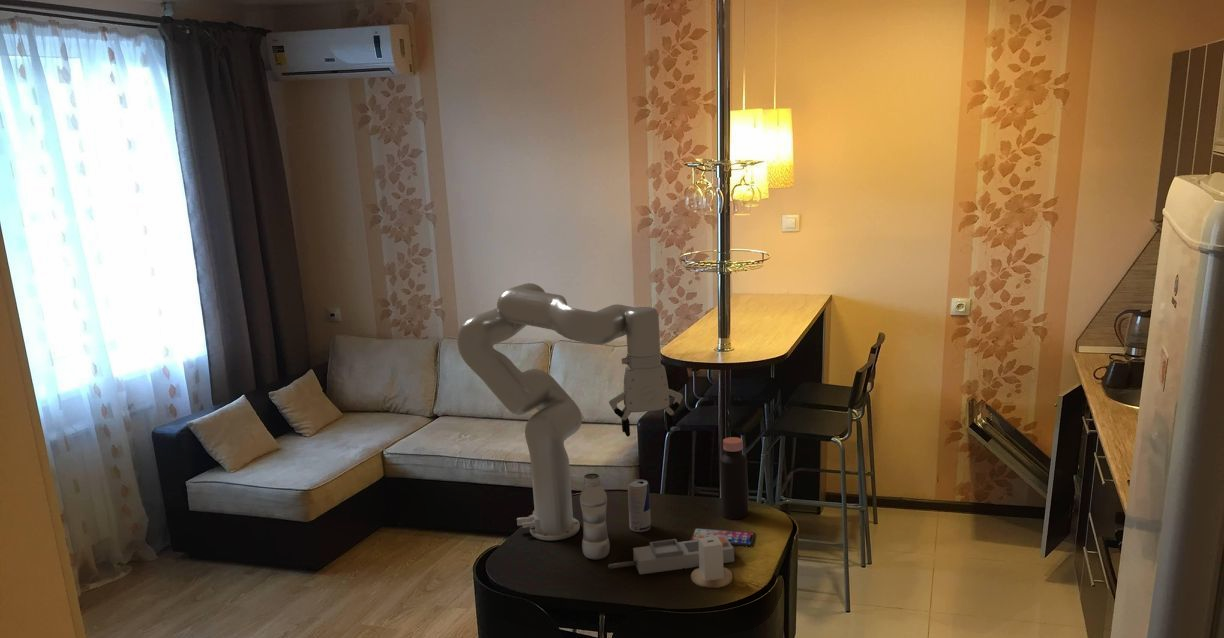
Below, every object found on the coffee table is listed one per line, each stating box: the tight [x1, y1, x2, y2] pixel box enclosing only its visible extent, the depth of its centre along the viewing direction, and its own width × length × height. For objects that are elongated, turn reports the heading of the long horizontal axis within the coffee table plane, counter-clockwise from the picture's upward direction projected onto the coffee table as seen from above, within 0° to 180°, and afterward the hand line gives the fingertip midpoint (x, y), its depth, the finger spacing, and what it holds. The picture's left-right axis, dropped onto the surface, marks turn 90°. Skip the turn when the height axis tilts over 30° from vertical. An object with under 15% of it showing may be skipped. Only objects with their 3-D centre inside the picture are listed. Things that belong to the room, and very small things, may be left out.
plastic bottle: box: [579, 472, 611, 561], centre depth 195 cm, size 6×7×20 cm
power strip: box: [607, 536, 735, 575], centre depth 191 cm, size 28×7×4 cm, turn 100°
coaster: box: [690, 566, 733, 589], centre depth 184 cm, size 9×9×1 cm
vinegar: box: [719, 436, 749, 520], centre depth 213 cm, size 7×7×20 cm
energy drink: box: [627, 478, 652, 533], centre depth 209 cm, size 5×5×12 cm
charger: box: [698, 536, 724, 581], centre depth 183 cm, size 4×4×8 cm
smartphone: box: [689, 527, 756, 548], centre depth 202 cm, size 8×1×15 cm
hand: (647, 432), depth 195 cm, fingers open, 9 cm apart
